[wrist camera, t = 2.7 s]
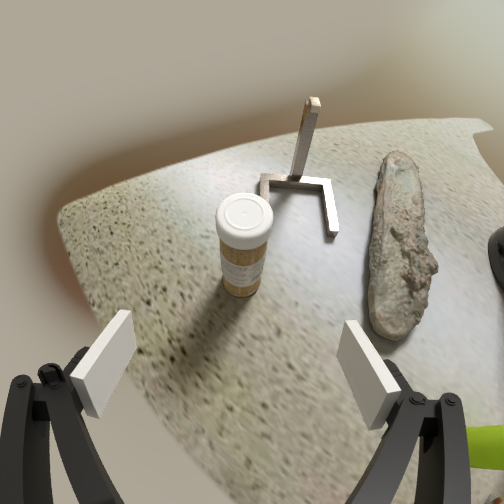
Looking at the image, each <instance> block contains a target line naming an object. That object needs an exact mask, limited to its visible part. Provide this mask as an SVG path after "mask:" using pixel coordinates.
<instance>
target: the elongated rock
mask: <svg viewBox="0 0 504 504" xmlns="http://www.w3.org/2000/svg"><path fill="white" fill-rule="evenodd" d="M418 169H419V167H418V166H416V165H415V163H414V161H413V160H412V159H411V157H409V156H407V155H406V154H405V153H404V152H399V151H393V152H390V153H388V155H387V156H386V157H385V158H384V159H383V164H382V165H381V167H380V175H379V179H378V180H377V183H376V190H377V194H378V196H377V202H376V206H375V209H374V214H373V216H374V221H373V225H374V228H373V235H372V239H371V244H370V246H369V256H370V259H369V269H370V279H369V280H370V281H369V285H368V287H369V288H368V295H367V297H368V309H369V318H370V323H371V324H372V326H373V330H374V331H375V332H376V333H377V334H378V335H380V336H382V337H385V338H387V339H390V340H394V341H398V340H400V339H403V338H405V337H406V335H407V334H408V333H409V332H410V330H411V329H413V328H414V326H415V325H417V324H419V322H420V321H421V318H422V316H423V315H424V309H425V308H427V306H428V301H427V300H428V291H429V289H430V284H431V276H432V275H434V274H436V273H437V272H438V263H437V261H436V260H435V258H434V257H433V255H432V253H430V251H429V249H428V248H427V245H428V239H427V237H426V236H425V234H424V232H425V230H424V222H425V219H424V216H425V215H424V214H425V208H424V198H423V192H422V182H421V181H420V179H419V175H418V173H419V170H418Z"/></svg>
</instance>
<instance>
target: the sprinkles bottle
mask: <svg viewBox="0 0 504 504" xmlns="http://www.w3.org/2000/svg"><path fill="white" fill-rule="evenodd" d="M215 219H216V230H217V233H218V236H219V238H220V257H221V266H222V273H223V284H224V286H225V289H226V290H227V291H228V292H229V293H231V294H232V295H234V296H237V297H247V296H249V295H252V294H253V293H254V292H256V290H257V289H258V288H259V285H260V282H261V274H262V271H263V266H264V261H265V256H266V251H267V240H268V238H269V236H270V234H271V231H272V225H273V211H272V209H271V207H270V205H269V204H268V203H267V201H265V200H264V199H263V198H262V197H260V196H258V195H255V194H252V193H237V194H233V195H231V196H229V197H227V198H225V199H224V200H223V201H222V202H221V203H220V204H219V206H218V208H217V210H216V216H215Z"/></svg>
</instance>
